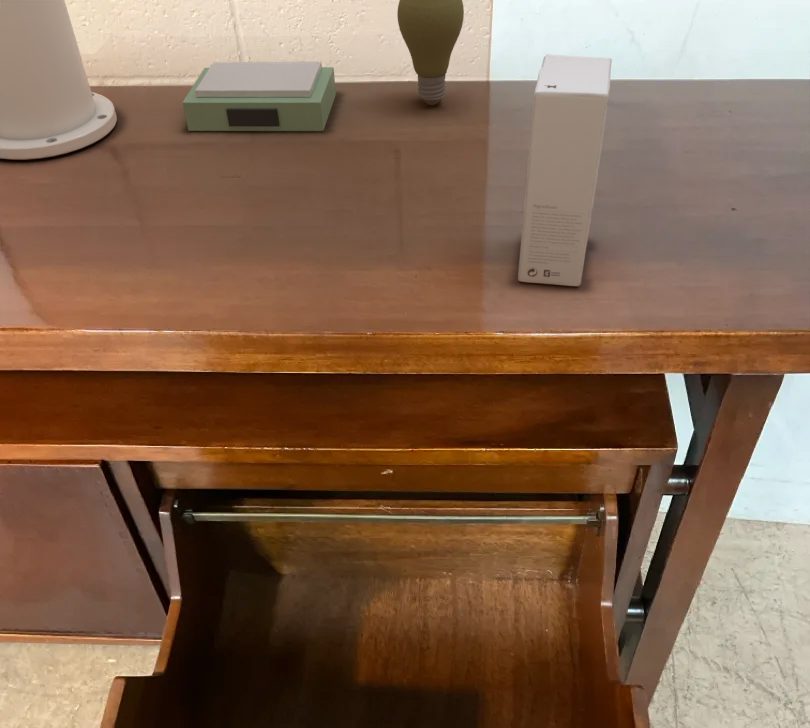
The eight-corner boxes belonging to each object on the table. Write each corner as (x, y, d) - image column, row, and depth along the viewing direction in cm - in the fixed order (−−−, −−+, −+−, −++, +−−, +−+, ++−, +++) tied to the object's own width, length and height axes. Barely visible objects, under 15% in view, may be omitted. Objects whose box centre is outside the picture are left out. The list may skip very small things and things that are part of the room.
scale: (187, 132, 73) (179, 96, 71) (209, 95, 79) (203, 60, 77) (323, 132, 72) (319, 95, 70) (336, 94, 78) (333, 59, 76)
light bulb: (399, 116, 74) (394, -14, 67) (402, 91, 78) (397, -35, 70) (462, 115, 74) (464, -16, 66) (462, 90, 78) (464, -37, 70)
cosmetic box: (581, 289, 55) (609, 95, 46) (516, 283, 56) (531, 91, 47) (587, 242, 59) (613, 55, 50) (526, 237, 60) (541, 52, 51)
